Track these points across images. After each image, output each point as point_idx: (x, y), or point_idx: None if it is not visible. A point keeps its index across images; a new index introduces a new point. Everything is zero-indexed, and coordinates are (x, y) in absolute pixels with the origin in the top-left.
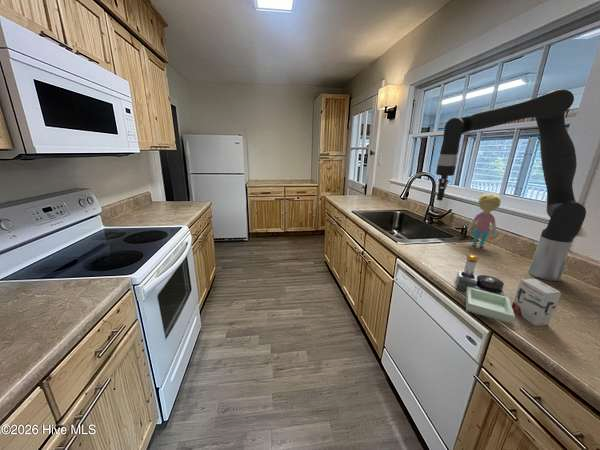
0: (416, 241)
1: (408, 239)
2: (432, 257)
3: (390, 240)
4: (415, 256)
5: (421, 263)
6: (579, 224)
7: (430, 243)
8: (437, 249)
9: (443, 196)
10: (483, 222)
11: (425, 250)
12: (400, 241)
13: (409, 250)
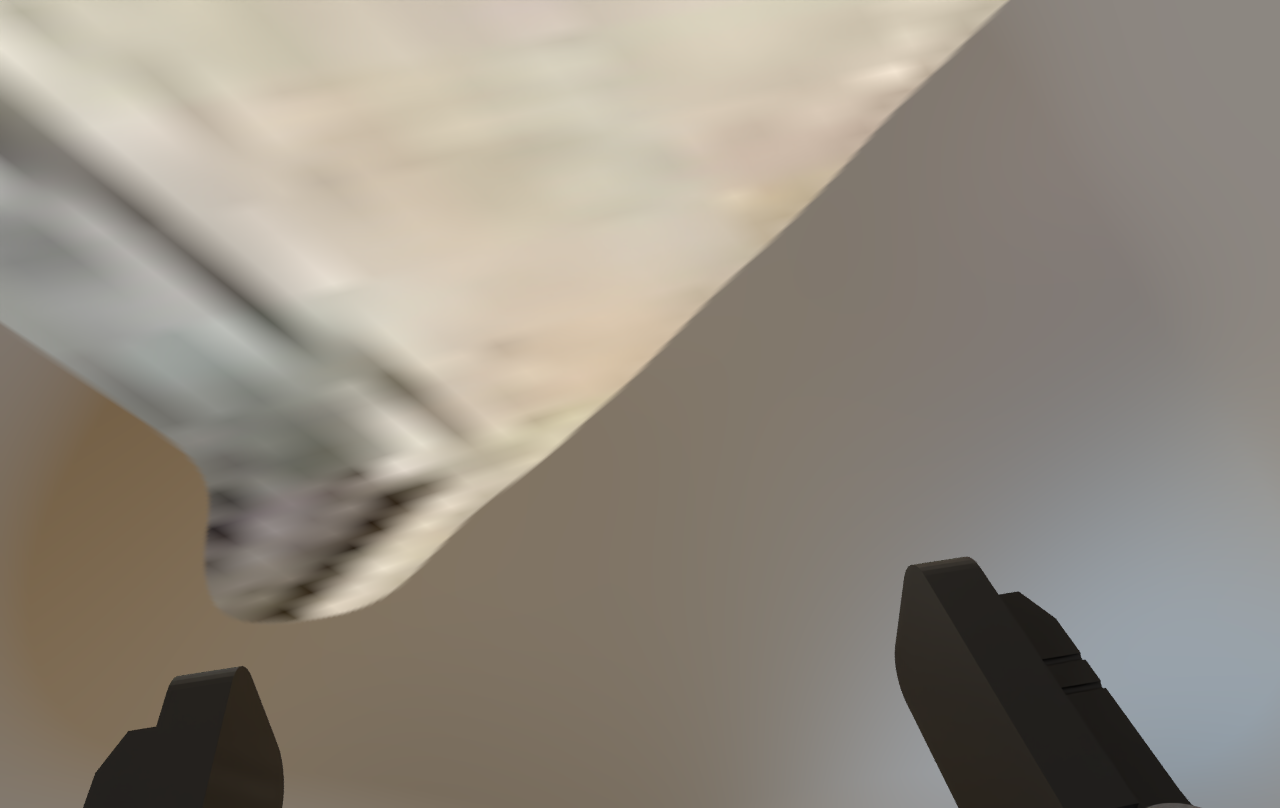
0: (161, 323)
1: (175, 420)
2: (636, 11)
3: (408, 548)
4: (735, 194)
5: (908, 88)
6: None
7: (58, 146)
8: (251, 4)
9: (215, 701)
10: None
11: (436, 142)
12: (347, 464)
13: (586, 298)
